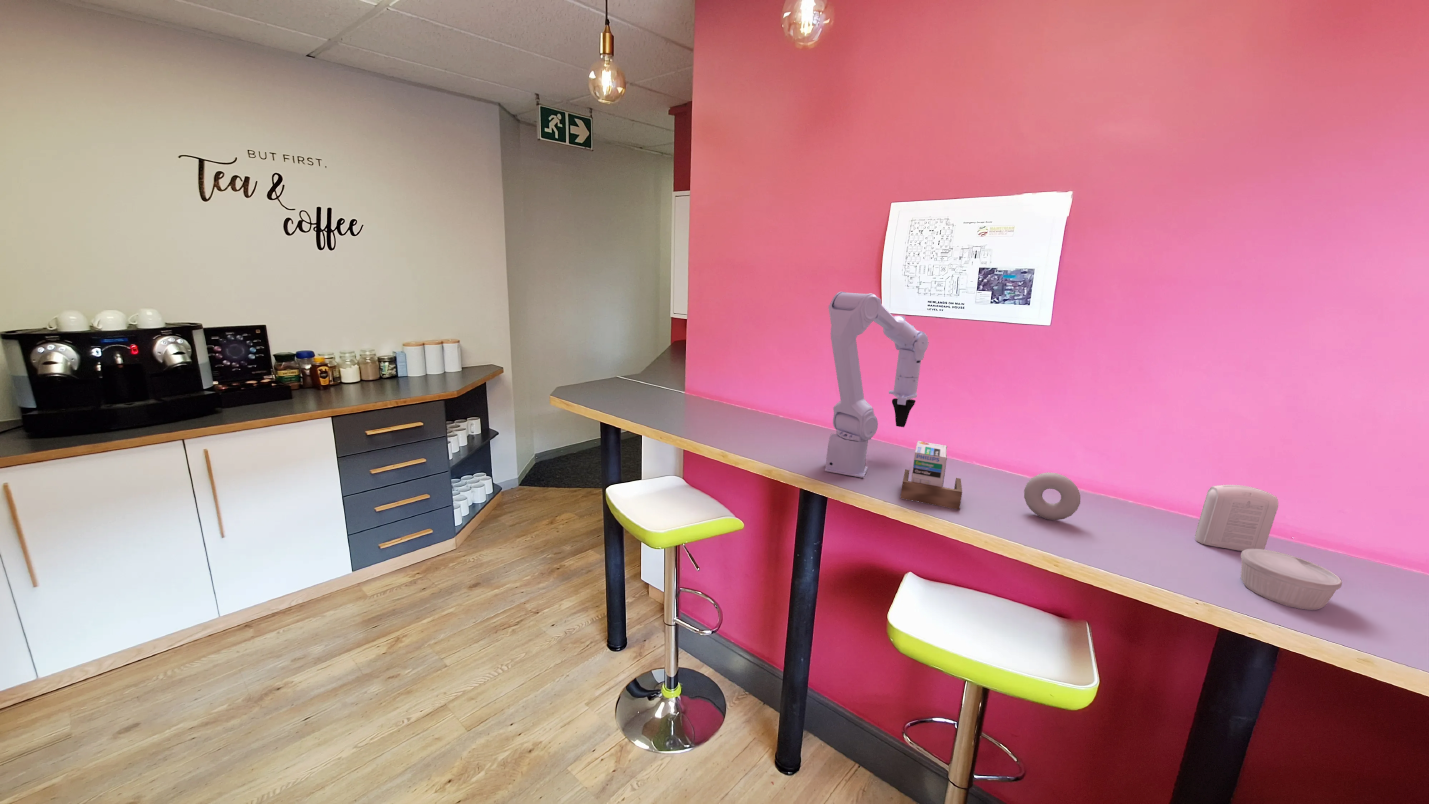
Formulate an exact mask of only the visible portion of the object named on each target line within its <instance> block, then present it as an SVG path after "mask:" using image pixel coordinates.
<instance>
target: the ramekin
mask: <svg viewBox="0 0 1429 804" xmlns="http://www.w3.org/2000/svg"><path fill="white" fill-rule="evenodd" d="M1240 559H1241V569H1240V579H1241V581H1242V582H1243V584H1244V586H1245V587H1246V588H1248V589H1249V590H1250V591H1251V592H1253V593H1254V594H1257V595H1258V596H1261V597H1262V598H1265V599H1267V600H1270V601H1271V602H1275V603H1277V604H1281V605H1284V606H1287V607H1291V608H1294V609H1299V610H1307V611H1311V610H1312V611H1315V610H1319V609H1322V608H1324V607H1326V605H1327V604H1328V603H1329V601H1330V600H1331V598H1333V596H1334V594H1335V593H1336V591H1338V590H1340V588H1341V587H1342V585H1343V581H1342V580H1341V578H1340V577H1339V576H1338V575H1336V574H1335V573H1334V572H1332V571H1331V570H1329V569H1328V568H1325V567H1323V566H1321V565H1319V564H1316V563H1314V562H1312V561H1308V560H1306V559H1303V558H1301V557H1297V556H1294V555H1291V554H1287V553H1284V552H1279V551H1275V550H1270V549H1246V550H1244V551H1241V553H1240Z"/></svg>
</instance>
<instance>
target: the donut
mask: <svg viewBox="0 0 1429 804" xmlns="http://www.w3.org/2000/svg"><path fill="white" fill-rule="evenodd" d="M1049 489H1050V490H1051V489H1052V490H1055V491H1057V492H1058V494H1060V500H1059V501H1058V502H1056V503H1055V502H1054V503H1050V502H1047V501H1046V500H1045V499H1044V498H1043V497H1044V496H1043V494H1044V492H1045V491H1046V490H1049ZM1023 498H1024V500H1025V503H1026V506H1027V507H1028V508H1029V509H1030V510H1031V512H1033V513H1034V514H1035V515H1037V516H1038V517H1041V518H1043V519H1045V520H1051V521H1058V520H1064V519H1067V518H1069V517H1071V516H1073V515H1074V514H1075V513H1076V512H1077V511H1078V509H1079V507H1080V505H1081V493H1080V490H1079V488H1078V486H1077V485H1076V484H1075V482H1074V481H1072V480H1071V479H1070V478H1069V477H1067V476H1065V475H1062V474H1060V473H1058V472H1048V471H1047V472H1042V473H1039V474H1037V475H1035V476H1033V477H1031V478H1030V479H1029V480H1028V482H1026V484H1025V487H1024V490H1023Z"/></svg>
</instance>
